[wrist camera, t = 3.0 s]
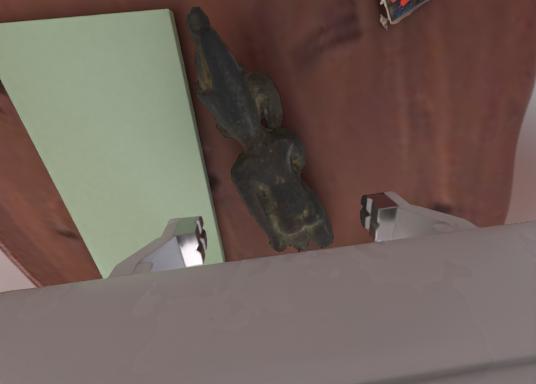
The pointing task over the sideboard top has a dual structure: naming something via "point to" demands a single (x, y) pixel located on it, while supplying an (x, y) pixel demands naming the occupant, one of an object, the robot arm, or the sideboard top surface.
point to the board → (112, 126)
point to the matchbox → (399, 9)
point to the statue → (258, 143)
